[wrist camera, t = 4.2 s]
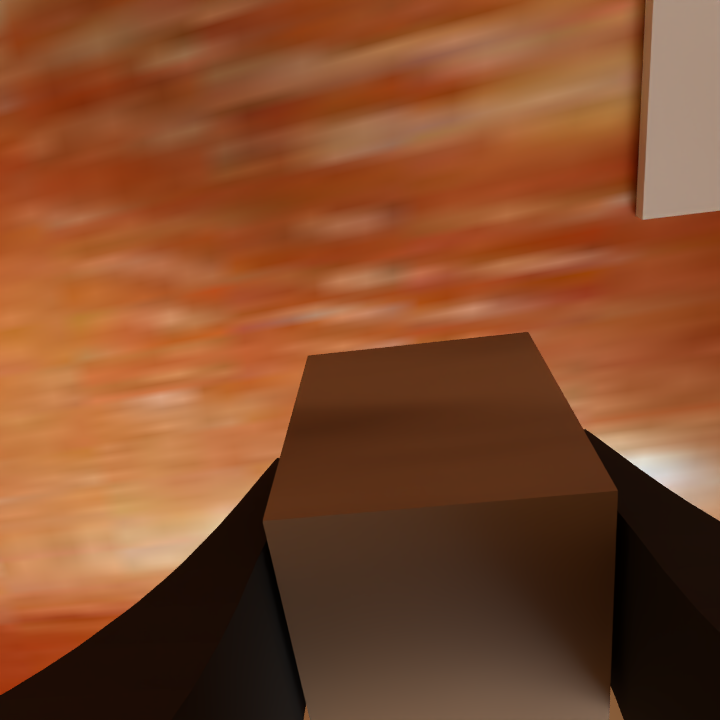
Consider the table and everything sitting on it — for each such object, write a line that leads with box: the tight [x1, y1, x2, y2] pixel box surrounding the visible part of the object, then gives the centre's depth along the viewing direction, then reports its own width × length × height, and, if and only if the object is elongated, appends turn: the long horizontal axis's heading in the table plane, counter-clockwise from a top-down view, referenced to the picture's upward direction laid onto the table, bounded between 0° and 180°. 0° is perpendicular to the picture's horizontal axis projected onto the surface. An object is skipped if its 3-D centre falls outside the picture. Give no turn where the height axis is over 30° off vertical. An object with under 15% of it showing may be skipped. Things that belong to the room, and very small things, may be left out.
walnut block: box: [263, 332, 618, 720], centre depth 11 cm, size 4×4×5 cm
